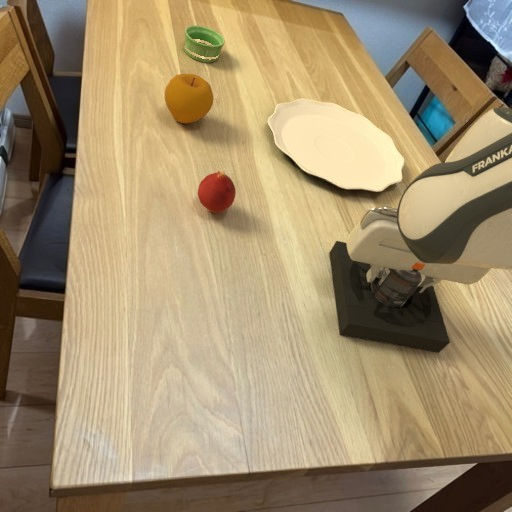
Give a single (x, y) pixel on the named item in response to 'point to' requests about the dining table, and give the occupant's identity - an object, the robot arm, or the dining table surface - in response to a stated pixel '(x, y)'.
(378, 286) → the pill bottle
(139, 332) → the dining table surface
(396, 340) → the socket pad
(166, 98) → the apple
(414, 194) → the robot arm
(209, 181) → the onion
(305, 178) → the dining table surface
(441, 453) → the dining table surface
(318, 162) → the plate
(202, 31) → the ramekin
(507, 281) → the dining table surface
